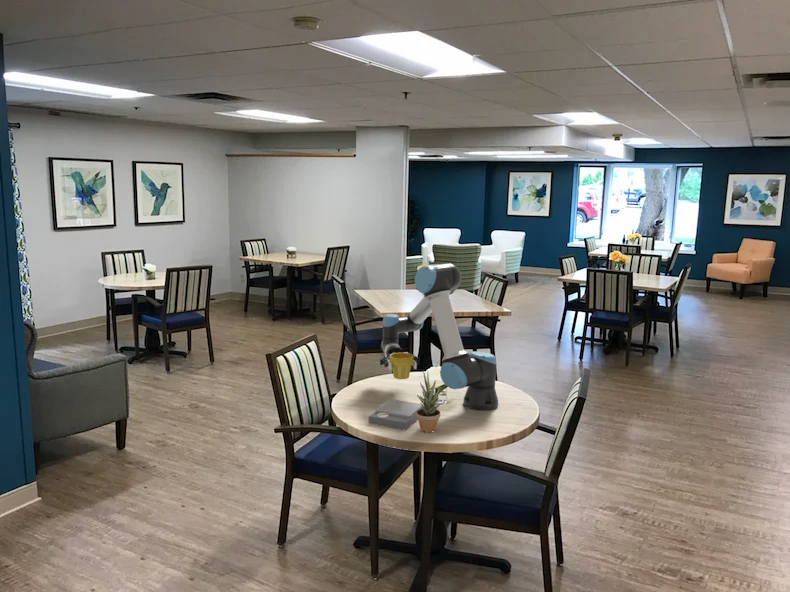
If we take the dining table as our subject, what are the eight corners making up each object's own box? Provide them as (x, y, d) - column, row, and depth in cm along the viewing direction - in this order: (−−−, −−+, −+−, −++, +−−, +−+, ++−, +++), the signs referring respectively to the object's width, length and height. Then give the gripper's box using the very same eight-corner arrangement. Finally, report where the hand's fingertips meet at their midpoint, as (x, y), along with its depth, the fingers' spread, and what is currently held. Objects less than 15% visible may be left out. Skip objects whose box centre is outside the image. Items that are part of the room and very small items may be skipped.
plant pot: (391, 372, 282) (391, 351, 280) (414, 374, 280) (414, 352, 278) (387, 379, 272) (387, 357, 270) (411, 381, 270) (412, 359, 268)
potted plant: (414, 425, 253) (416, 365, 249) (438, 425, 254) (440, 365, 249) (417, 435, 243) (418, 373, 239) (441, 434, 244) (443, 373, 239)
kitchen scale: (424, 413, 266) (424, 404, 265) (405, 430, 248) (405, 420, 247) (389, 407, 272) (389, 398, 272) (368, 423, 254) (368, 413, 254)
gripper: (417, 359, 295) (428, 374, 273) (369, 361, 291) (376, 375, 269) (418, 344, 294) (429, 357, 272) (369, 345, 289) (377, 358, 268)
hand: (403, 366), depth 271 cm, fingers closed on plant pot, 10 cm apart
